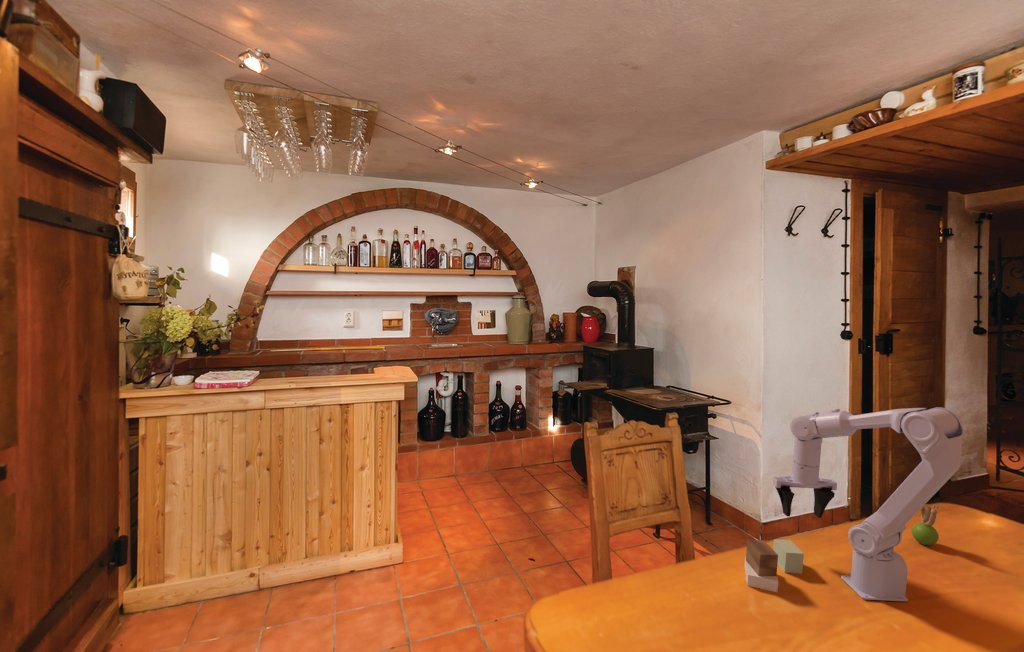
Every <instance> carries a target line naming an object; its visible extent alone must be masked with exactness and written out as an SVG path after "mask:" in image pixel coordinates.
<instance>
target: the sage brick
mask: <svg viewBox="0 0 1024 652" xmlns="http://www.w3.org/2000/svg"><path fill="white" fill-rule="evenodd" d="M772 549H773V550H774V551H775V552H776V553H777V554H778V563H777V566H778V567H779V568H780V570H782V572H784V573H785V574H800V575H801V574H803V569H804V568H803V567H804V552H803V551H802V550H801V549H800V548H799V547H798V546H797V545H796V544H795V543H794V542H793V541H792V540H791V539H777V538H774V539H773V546H772Z"/></svg>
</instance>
